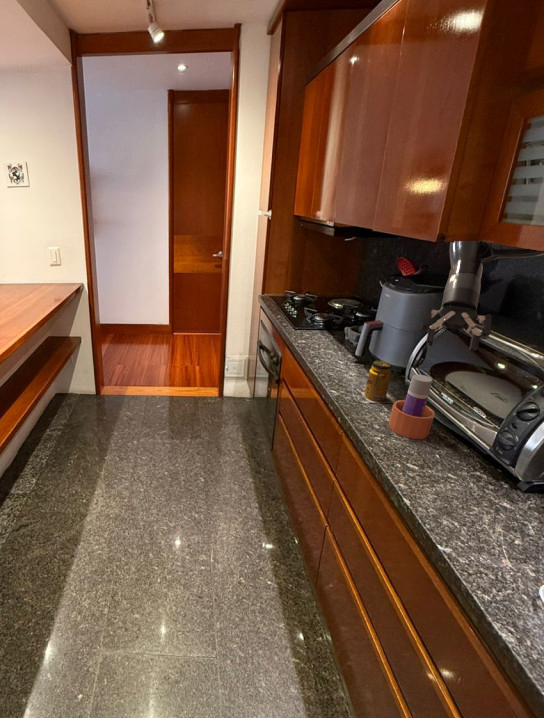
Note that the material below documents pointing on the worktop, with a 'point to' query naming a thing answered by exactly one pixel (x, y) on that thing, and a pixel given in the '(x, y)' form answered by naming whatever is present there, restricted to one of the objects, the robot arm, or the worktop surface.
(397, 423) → the holder
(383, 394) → the condiment
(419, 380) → the container
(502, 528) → the worktop surface
